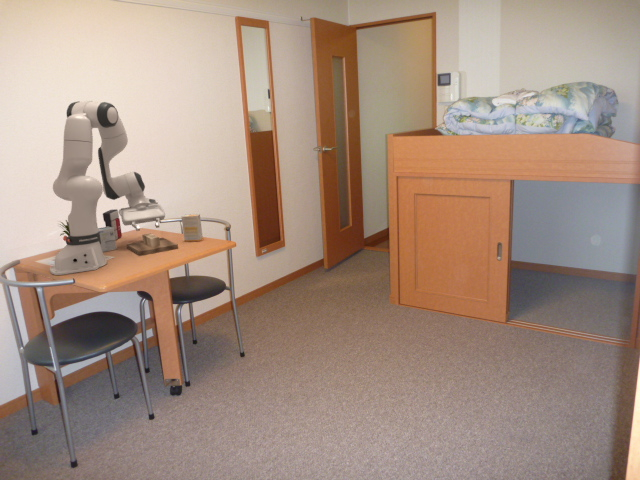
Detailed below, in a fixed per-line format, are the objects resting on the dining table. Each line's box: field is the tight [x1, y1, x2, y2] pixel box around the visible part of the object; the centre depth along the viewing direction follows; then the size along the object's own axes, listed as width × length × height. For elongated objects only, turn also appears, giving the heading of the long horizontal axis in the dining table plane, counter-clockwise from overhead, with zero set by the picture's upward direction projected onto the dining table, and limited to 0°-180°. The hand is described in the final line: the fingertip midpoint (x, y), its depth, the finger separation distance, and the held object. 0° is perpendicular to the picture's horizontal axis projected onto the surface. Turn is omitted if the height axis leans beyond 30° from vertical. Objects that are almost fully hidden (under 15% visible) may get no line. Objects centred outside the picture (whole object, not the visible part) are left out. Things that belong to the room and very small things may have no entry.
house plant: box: [58, 219, 70, 237], centre depth 260 cm, size 14×14×16 cm
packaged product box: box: [102, 208, 123, 240], centre depth 281 cm, size 11×4×15 cm, turn 179°
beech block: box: [142, 233, 160, 247], centre depth 259 cm, size 4×4×12 cm
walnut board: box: [126, 237, 179, 257], centre depth 259 cm, size 18×20×2 cm
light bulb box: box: [98, 226, 118, 253], centre depth 259 cm, size 11×7×11 cm, turn 134°
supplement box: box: [181, 213, 204, 243], centre depth 269 cm, size 8×5×13 cm, turn 84°
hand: (148, 228), depth 259 cm, fingers open, 8 cm apart
